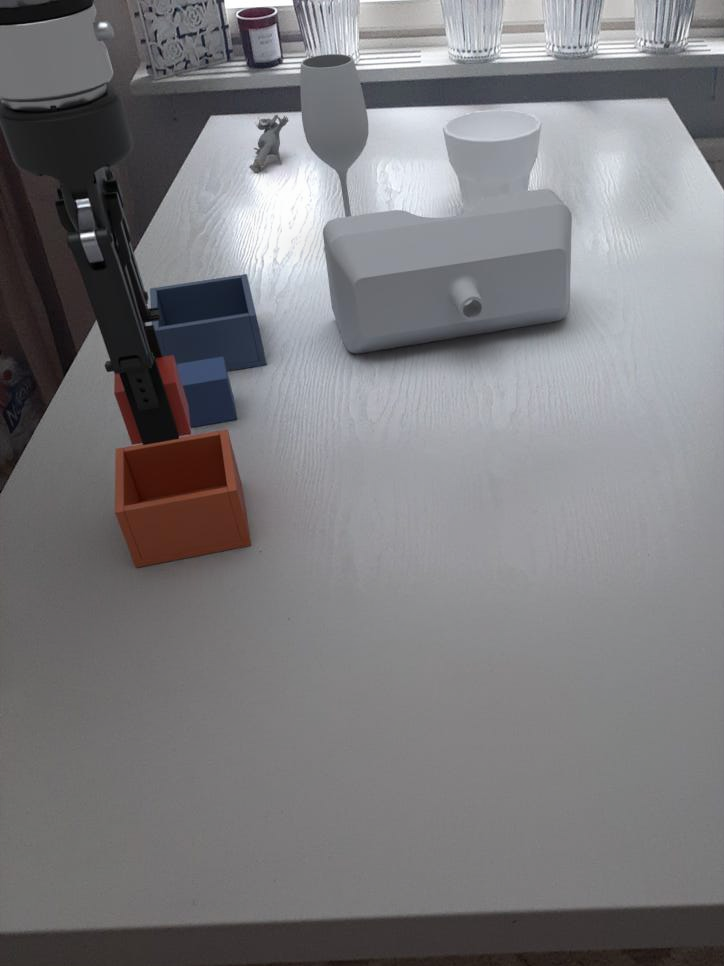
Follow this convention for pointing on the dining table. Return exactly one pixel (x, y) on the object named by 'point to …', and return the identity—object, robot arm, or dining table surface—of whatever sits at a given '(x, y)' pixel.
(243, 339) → the slate bin
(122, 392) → the red block
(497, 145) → the cup
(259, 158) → the elephant figurine
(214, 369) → the blue block
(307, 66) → the wineglass
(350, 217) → the tank
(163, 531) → the terracotta bin
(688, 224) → the dining table surface
